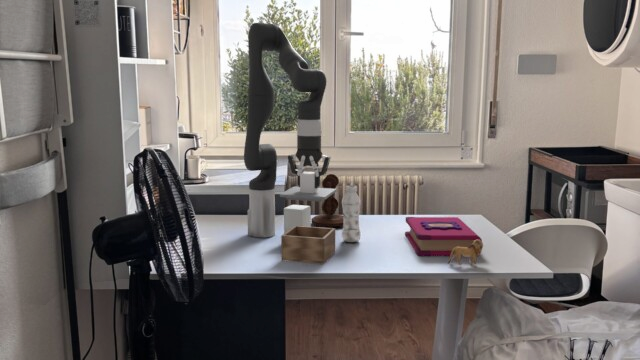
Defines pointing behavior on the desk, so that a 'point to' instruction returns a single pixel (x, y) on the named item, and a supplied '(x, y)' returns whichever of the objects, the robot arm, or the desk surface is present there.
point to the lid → (308, 190)
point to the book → (438, 235)
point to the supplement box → (297, 216)
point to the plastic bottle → (351, 215)
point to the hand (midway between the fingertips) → (309, 187)
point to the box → (308, 244)
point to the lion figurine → (467, 252)
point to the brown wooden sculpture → (329, 206)
